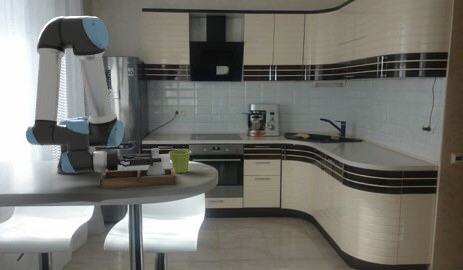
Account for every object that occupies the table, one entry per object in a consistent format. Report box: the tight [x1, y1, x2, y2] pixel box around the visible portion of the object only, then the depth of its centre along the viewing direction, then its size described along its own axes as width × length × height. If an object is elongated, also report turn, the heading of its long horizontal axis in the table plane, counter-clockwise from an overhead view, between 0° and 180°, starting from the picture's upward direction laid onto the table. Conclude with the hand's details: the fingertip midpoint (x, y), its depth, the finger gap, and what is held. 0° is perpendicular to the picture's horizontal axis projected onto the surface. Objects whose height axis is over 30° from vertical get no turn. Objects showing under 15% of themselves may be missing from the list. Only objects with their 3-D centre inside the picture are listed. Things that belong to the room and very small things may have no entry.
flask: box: [147, 147, 165, 176], centre depth 146 cm, size 7×7×10 cm
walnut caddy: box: [99, 167, 177, 189], centre depth 146 cm, size 14×27×3 cm, turn 103°
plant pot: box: [168, 149, 192, 174], centre depth 162 cm, size 9×9×9 cm
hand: (169, 158), depth 147 cm, fingers closed on flask, 3 cm apart
